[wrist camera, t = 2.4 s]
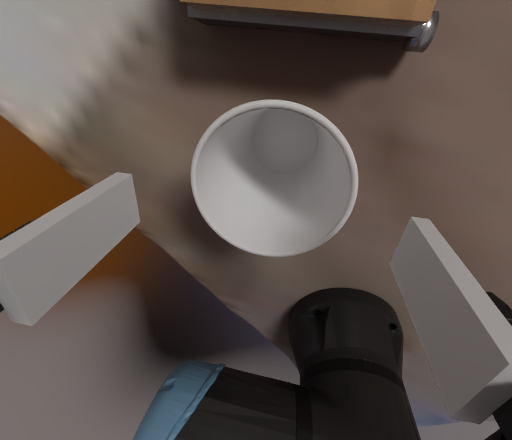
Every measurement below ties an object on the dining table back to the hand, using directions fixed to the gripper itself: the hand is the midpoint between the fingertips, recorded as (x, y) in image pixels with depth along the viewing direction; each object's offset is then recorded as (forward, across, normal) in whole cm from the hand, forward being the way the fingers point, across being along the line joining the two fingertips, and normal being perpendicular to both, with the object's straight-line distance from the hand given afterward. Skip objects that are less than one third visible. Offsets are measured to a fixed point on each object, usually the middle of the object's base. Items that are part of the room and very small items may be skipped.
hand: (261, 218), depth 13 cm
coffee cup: (+16, 0, 0) cm, 16 cm away
